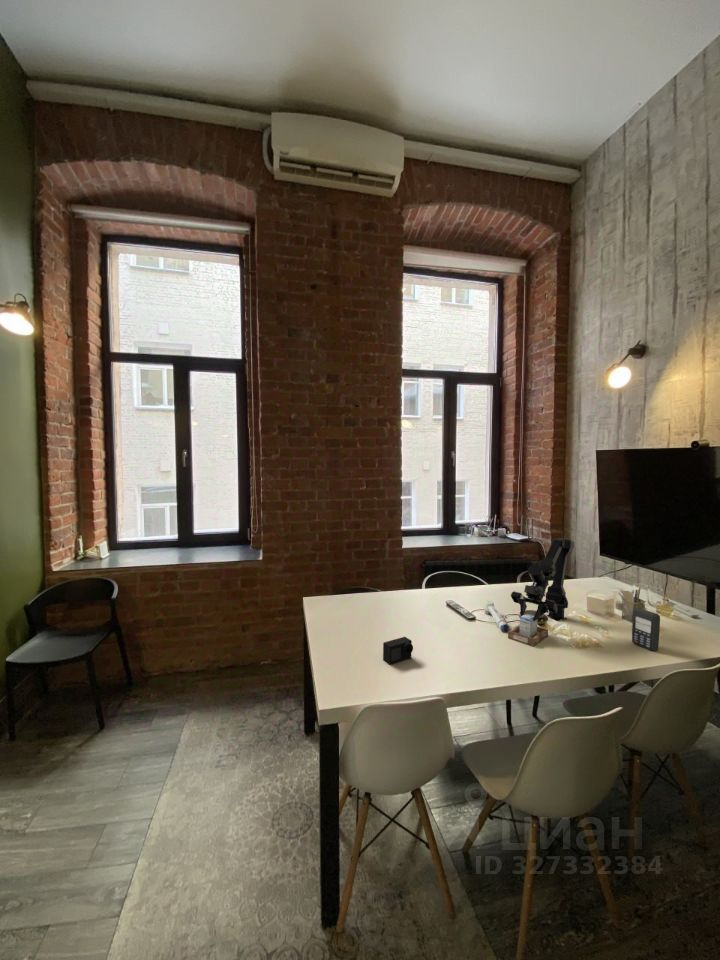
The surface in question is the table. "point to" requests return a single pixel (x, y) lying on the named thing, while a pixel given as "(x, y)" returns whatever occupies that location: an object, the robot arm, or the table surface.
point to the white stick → (496, 616)
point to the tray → (533, 641)
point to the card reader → (645, 629)
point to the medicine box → (528, 625)
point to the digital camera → (397, 650)
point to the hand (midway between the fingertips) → (527, 618)
